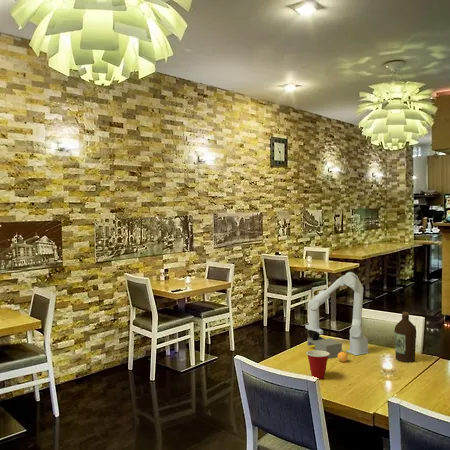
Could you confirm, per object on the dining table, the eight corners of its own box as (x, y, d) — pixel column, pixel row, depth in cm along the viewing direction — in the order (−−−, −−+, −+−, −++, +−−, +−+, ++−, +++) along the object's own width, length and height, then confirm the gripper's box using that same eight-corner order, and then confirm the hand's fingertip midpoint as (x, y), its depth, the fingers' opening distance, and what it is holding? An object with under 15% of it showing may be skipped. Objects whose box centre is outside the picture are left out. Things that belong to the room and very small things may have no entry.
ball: (343, 359, 233) (343, 349, 232) (349, 362, 228) (349, 352, 228) (335, 360, 231) (335, 351, 230) (341, 363, 226) (341, 354, 226)
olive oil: (404, 355, 238) (404, 309, 237) (420, 361, 228) (421, 313, 227) (389, 358, 233) (390, 311, 232) (405, 364, 224) (405, 315, 223)
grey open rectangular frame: (320, 346, 255) (320, 334, 254) (341, 356, 238) (341, 343, 237) (306, 348, 251) (306, 336, 250) (326, 358, 234) (326, 345, 233)
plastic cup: (328, 373, 213) (328, 348, 213) (331, 382, 203) (331, 356, 202) (305, 372, 215) (305, 348, 214) (307, 381, 204) (307, 355, 203)
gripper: (300, 318, 257) (301, 341, 257) (315, 323, 243) (315, 348, 244) (311, 316, 259) (311, 339, 260) (326, 322, 246) (326, 346, 247)
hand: (314, 343), depth 252 cm, fingers closed on grey open rectangular frame
